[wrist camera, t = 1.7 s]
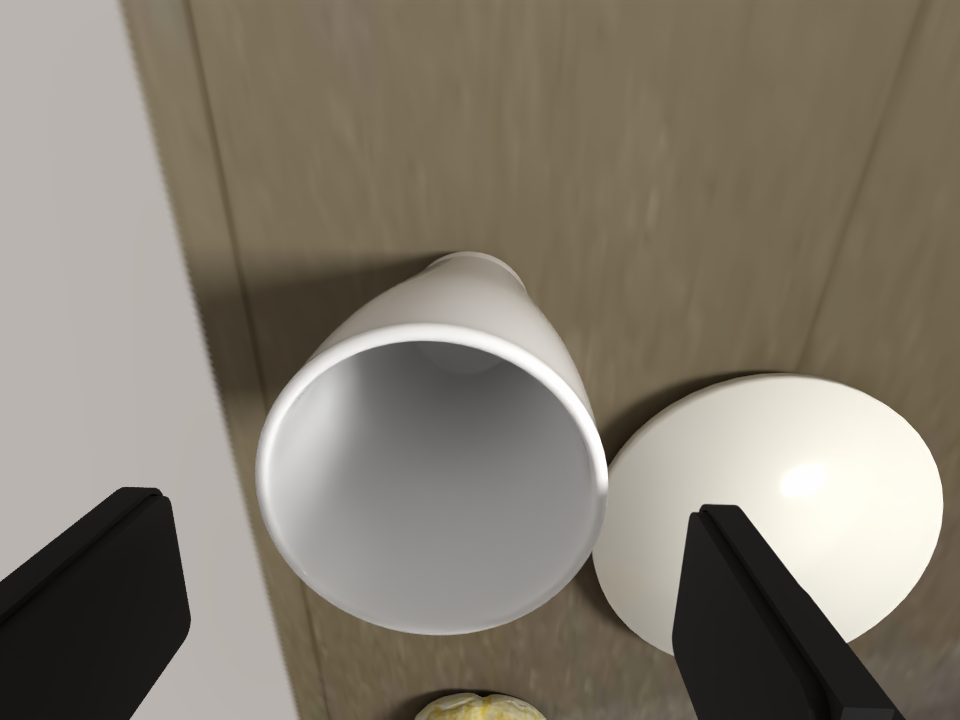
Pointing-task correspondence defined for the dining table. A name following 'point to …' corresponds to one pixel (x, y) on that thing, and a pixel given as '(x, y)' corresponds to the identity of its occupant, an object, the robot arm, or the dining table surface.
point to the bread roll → (479, 708)
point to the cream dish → (774, 497)
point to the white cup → (436, 456)
